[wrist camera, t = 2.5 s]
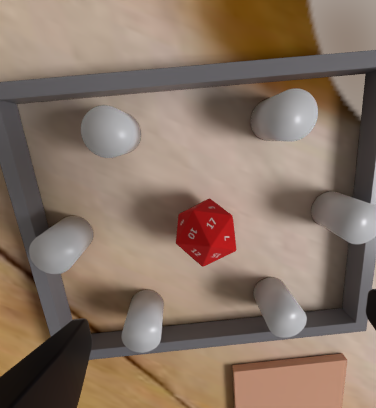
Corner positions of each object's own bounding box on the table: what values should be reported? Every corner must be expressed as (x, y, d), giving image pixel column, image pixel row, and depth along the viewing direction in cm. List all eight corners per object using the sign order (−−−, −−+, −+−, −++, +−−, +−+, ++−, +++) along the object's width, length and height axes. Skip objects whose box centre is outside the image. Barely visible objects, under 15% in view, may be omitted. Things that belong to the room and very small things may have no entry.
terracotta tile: (236, 442, 22) (237, 450, 21) (232, 365, 19) (233, 372, 19) (333, 431, 22) (338, 439, 21) (342, 353, 20) (347, 360, 19)
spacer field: (68, 345, 18) (47, 384, 15) (-2, 89, 14) (-51, 76, 11) (351, 315, 19) (383, 348, 16) (380, 57, 14) (434, 35, 11)
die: (237, 231, 16) (255, 259, 13) (192, 253, 17) (196, 287, 13) (214, 185, 16) (226, 201, 12) (167, 209, 16) (164, 232, 12)
